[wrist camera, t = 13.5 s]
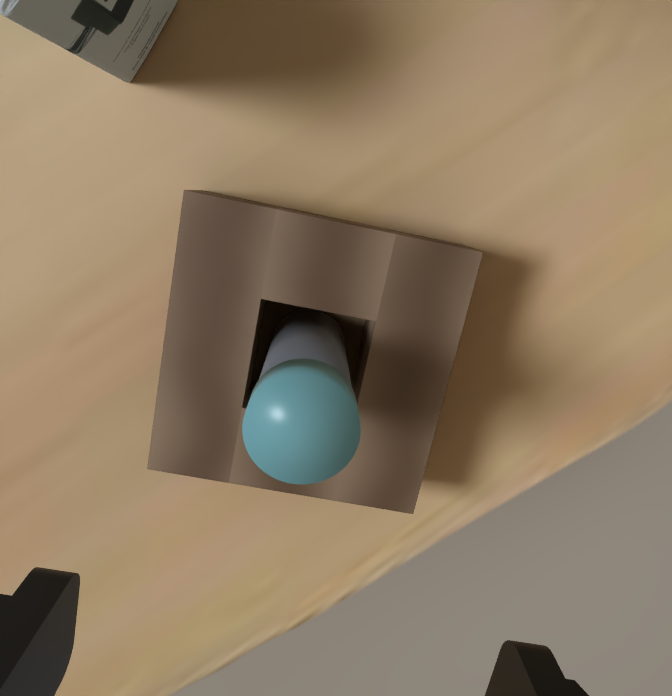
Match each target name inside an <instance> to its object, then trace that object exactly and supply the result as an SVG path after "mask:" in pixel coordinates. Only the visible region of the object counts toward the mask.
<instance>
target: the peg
mask: <svg viewBox="0 0 672 696" xmlns="http://www.w3.org/2000/svg"><path fill="white" fill-rule="evenodd" d="M242 435H243V440H244V444H245V447H246V450H247V452H248V454H249V456H250V457H251V459H252V460H253V462H254V463H255V464H256V465H257V466H258V467H259V468H260V469H261V470H262V471H263V472H265V473H266V474H268V475H269V476H271V477H273V478H275V479H277V480H280V481H282V482H286V483H290V484H313V483H318V482H321V481H324V480H327V479H329V478H331V477H333V476H334V475H336V474H337V473H339V472H340V471H341V470H342V469H343V468H345V467H346V466H347V464H348V463H349V462H350V461H351V459H352V458H353V456H354V455H355V452H356V450H357V448H358V445H359V442H360V436H361V424H360V417H359V412H358V406H357V400H356V397H355V393H354V391H353V388H352V386H351V379H350V373H349V367H348V361H347V355H346V349H345V343H344V337H343V333H342V331H341V329H340V327H339V325H338V324H337V323H336V321H335V320H334V319H333V318H331V317H330V316H329V315H327V314H325V313H323V312H321V311H317V310H311V309H305V310H299V311H296V312H293V313H291V314H289V315H288V316H286V317H285V318H284V319H283V320H282V321H281V322H280V323H279V325H278V326H277V328H276V330H275V332H274V335H273V338H272V341H271V344H270V347H269V350H268V353H267V356H266V360H265V363H264V366H263V369H262V372H261V375H260V378H259V380H258V382H257V383H256V385H255V387H254V389H253V391H252V394H251V397H250V400H249V402H248V405H247V408H246V411H245V414H244V418H243V425H242Z"/></svg>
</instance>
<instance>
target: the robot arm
mask: <svg viewBox="0 0 672 696" xmlns="http://www.w3.org/2000/svg"><path fill="white" fill-rule="evenodd" d="M79 587H80V576H79V574H78V573H72V572H65V571H59V570H52V569H45V568H39V567H36V568H34V569H33V570H32V571H31V572H30V573H29V574H28V575H27V577H26V578H25V579H24V581H23V582H22V583H21V585H20V586H19V587H18V589H17V590H16V591H15V593H14V594H13V595H12V596H10V595H3V594H0V696H54V695H55V693H56V691H57V689H58V687H59V685H60V683H61V681H62V679H63V677H64V674H65V672H66V669H67V666H68V664H69V660H70V657H71V653H72V649H73V644H74V635H75V625H76V616H77V606H78V597H79ZM485 696H589V695H588V694H587V693H586V692H585V691H584V690H583V689H582V688H581V687H580V686H579V684H578V683H577V682H576V681H575V680H569V679H565V677H564V675H563V673H562V671H561V669H560V667H559V666H558V664H557V661H556V659H555V657H554V655H553V654H552V652H551V650H550V649H549V648H548V647H546V646H542V645H537V644H530V643H523V642H517V641H510V640H509V641H508V640H507V641H506V642H504V643H503V645H502V647H501V649H500V652H499V655H498V658H497V661H496V665H495V667H494V670H493V673H492V676H491V679H490V682H489V685H488V688H487V691H486V694H485Z"/></svg>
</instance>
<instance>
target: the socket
mask: <svg viewBox="0 0 672 696" xmlns="http://www.w3.org/2000/svg"><path fill="white" fill-rule="evenodd" d="M482 255H483V252H481V251H478V250H475V249H473V248H470V247H467V246H464V245H461V244H456V243H451V242H446V241H442V240H437V239H432V238H427V237H422V236H418V235H413V234H408V233H403V232H399V231H394V230H389V229H384V228H379V227H375V226H370V225H365V224H360V223H355V222H351V221H346V220H341V219H336V218H331V217H327V216H322V215H317V214H312V213H307V212H303V211H298V210H293V209H288V208H283V207H279V206H274V205H269V204H264V203H260V202H255V201H250V200H245V199H240V198H236V197H231V196H226V195H221V194H216V193H212V192H207V191H202V190H184V194H183V201H182V209H181V216H180V224H179V231H178V239H177V247H176V254H175V262H174V269H173V277H172V285H171V292H170V300H169V307H168V315H167V323H166V330H165V338H164V345H163V353H162V360H161V368H160V376H159V383H158V391H157V398H156V406H155V414H154V421H153V429H152V436H151V444H150V451H149V459H148V467H147V469H150V470H156V471H162V472H168V473H174V474H180V475H185V476H191V477H197V478H203V479H209V480H215V481H221V482H227V483H233V484H239V485H245V486H251V487H256V488H262V489H268V490H274V491H280V492H286V493H292V494H298V495H304V496H310V497H316V498H322V499H327V500H333V501H339V502H345V503H351V504H357V505H363V506H369V507H375V508H381V509H387V510H393V511H398V512H404V513H410V514H413V513H414V509H415V505H416V501H417V498H418V494H419V490H420V486H421V483H422V479H423V475H424V472H425V468H426V464H427V460H428V457H429V453H430V449H431V445H432V442H433V438H434V434H435V430H436V427H437V423H438V419H439V416H440V412H441V408H442V404H443V401H444V397H445V393H446V389H447V386H448V382H449V378H450V374H451V371H452V367H453V363H454V360H455V356H456V352H457V348H458V345H459V341H460V337H461V333H462V330H463V326H464V322H465V319H466V315H467V311H468V307H469V304H470V300H471V296H472V292H473V289H474V285H475V281H476V277H477V274H478V270H479V266H480V263H481V259H482ZM266 300H270V301H275V302H280V303H285V304H290V305H295V306H300V307H305V308H311V309H316V310H321V311H326V312H331V313H336V314H341V315H346V316H352V317H357V318H362V319H366V322H365V327H364V331H363V336H362V340H361V345H360V349H359V354H358V358H357V363H356V367H355V372H354V376H353V381H352V385H351V386H352V388H353V391H354V393H355V397H356V400H357V406H358V412H359V417H360V424H361V436H360V442H359V445H358V448H357V450H356V452H355V455H354V456H353V458H352V459H351V461H350V462H349V463H348V464H347V466H346V467H345V468H343V469H342V470H341V471H340V472H339V473H337V474H336V475H334V476H333V477H331V478H329V479H327V480H324V481H321V482H318V483H313V484H290V483H286V482H282V481H280V480H277V479H275V478H273V477H271V476H269V475H268V474H266V473H265V472H263V471H262V470H261V469H260V468H259V467H258V466H257V465H256V464H255V463H254V462H253V460H252V459H251V457H250V456H249V454H248V452H247V450H246V447H245V444H244V440H243V435H242V425H243V418H244V414H245V411H246V408H247V405H248V402H249V400H250V397H251V394H252V391H253V389H254V387H255V385H256V383H253V382H251V381H252V375H253V370H254V364H255V358H256V353H257V347H258V341H259V335H260V330H261V324H262V318H263V313H264V307H265V301H266Z"/></svg>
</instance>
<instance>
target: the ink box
mask: <svg viewBox="0 0 672 696" xmlns="http://www.w3.org/2000/svg"><path fill="white" fill-rule="evenodd" d="M176 3H177V0H0V14H2V15H3V16H5V17H6V18H8V19H10V20H12V21H14V22H16V23H18V24H19V25H21V26H23V27H25V28H27V29H29V30H31V31H32V32H34V33H36V34H38V35H40V36H42V37H44V38H46V39H47V40H49V41H51V42H53V43H55V44H57V45H59V46H60V47H63V48H64V49H66V50H68V51H69V52H71V53H73V54H75V55H77V56H79V57H80V58H82V59H84V60H86V61H88V62H90V63H91V64H93V65H95V66H97V67H99V68H101V69H102V70H104V71H106V72H108V73H110V74H112V75H114V76H116V77H117V78H119V79H121V80H123V81H125V82H131V80H132V79H133V77H134V76H135V74H136V73H137V71H138V70H139V68H140V66H141V65H142V63H143V62H144V60H145V58H146V57H147V55H148V53H149V52H150V50H151V48H152V46H153V45H154V43H155V41H156V39H157V38H158V36H159V34H160V32H161V31H162V29H163V27H164V25H165V23H166V22H167V20H168V18H169V16H170V14H171V13H172V11H173V9H174V7H175V5H176Z"/></svg>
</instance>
